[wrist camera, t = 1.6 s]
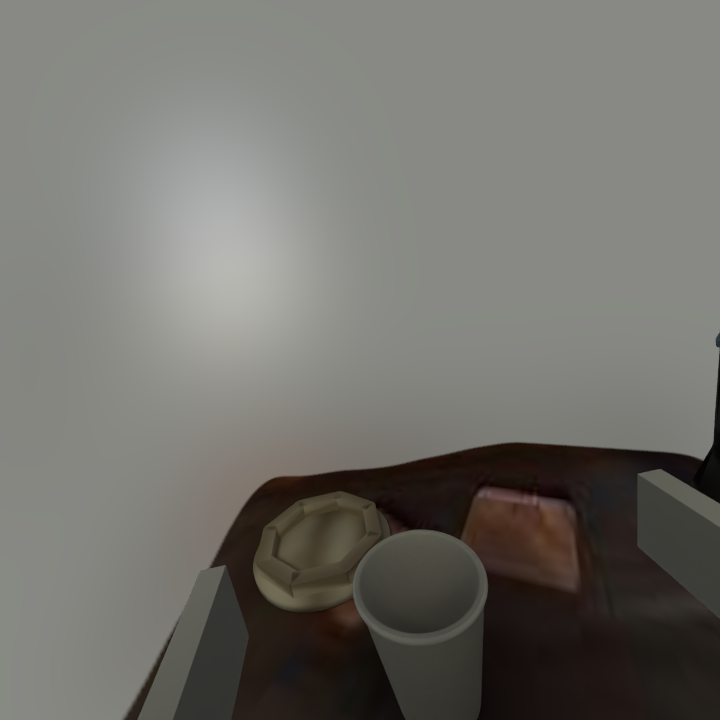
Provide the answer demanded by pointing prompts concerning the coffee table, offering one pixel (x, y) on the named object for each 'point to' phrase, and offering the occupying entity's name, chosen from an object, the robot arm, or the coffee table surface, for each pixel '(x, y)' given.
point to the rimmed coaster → (317, 551)
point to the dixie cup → (426, 621)
